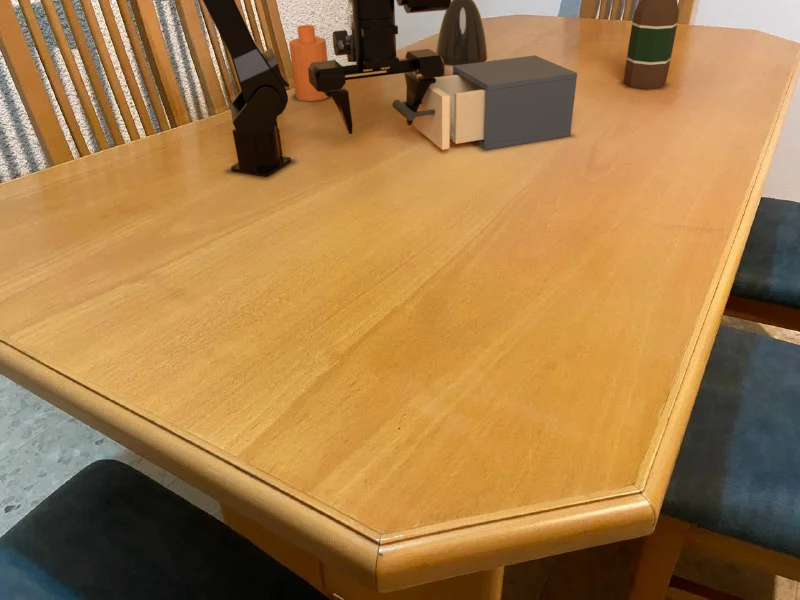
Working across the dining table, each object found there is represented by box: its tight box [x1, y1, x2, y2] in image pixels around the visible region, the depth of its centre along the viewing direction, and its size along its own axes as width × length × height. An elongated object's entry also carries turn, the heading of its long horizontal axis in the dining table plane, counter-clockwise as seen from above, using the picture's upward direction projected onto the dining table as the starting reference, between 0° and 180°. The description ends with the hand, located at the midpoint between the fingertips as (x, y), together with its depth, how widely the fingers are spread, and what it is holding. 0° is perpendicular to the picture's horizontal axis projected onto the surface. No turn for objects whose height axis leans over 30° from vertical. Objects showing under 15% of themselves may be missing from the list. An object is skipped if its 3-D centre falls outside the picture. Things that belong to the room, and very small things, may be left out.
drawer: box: [391, 74, 486, 151], centre depth 97 cm, size 18×11×8 cm, turn 109°
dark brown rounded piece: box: [435, 0, 488, 76], centre depth 126 cm, size 10×10×15 cm
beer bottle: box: [623, 0, 680, 90], centre depth 115 cm, size 8×8×24 cm
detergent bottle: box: [288, 24, 329, 102], centre depth 120 cm, size 7×7×12 cm
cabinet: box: [453, 54, 578, 151], centre depth 100 cm, size 15×13×10 cm
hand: (379, 129), depth 95 cm, fingers open, 9 cm apart
